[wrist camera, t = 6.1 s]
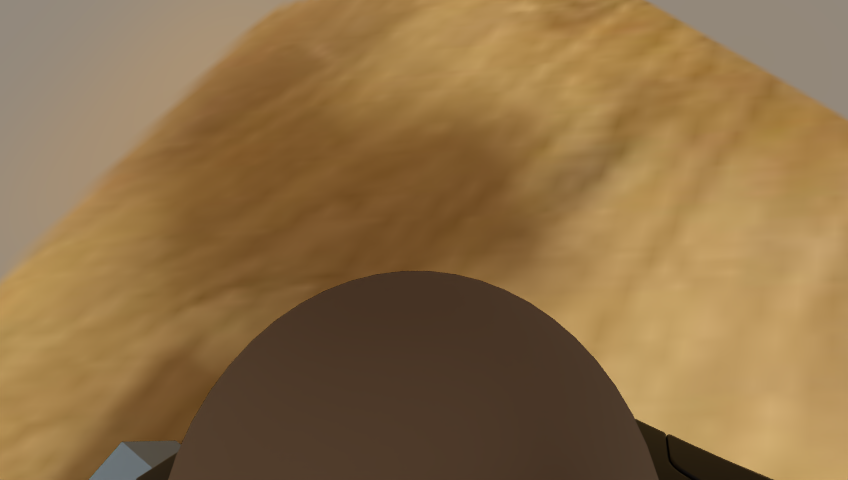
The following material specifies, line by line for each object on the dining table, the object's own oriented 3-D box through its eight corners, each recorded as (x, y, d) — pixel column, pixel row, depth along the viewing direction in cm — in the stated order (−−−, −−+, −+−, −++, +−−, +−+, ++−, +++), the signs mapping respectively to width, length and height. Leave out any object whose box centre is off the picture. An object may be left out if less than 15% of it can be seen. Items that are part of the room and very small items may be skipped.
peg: (426, 553, 13) (535, 1158, 2) (325, 474, 14) (24, 609, 3) (487, 435, 14) (732, 424, 4) (393, 370, 15) (363, 203, 4)
